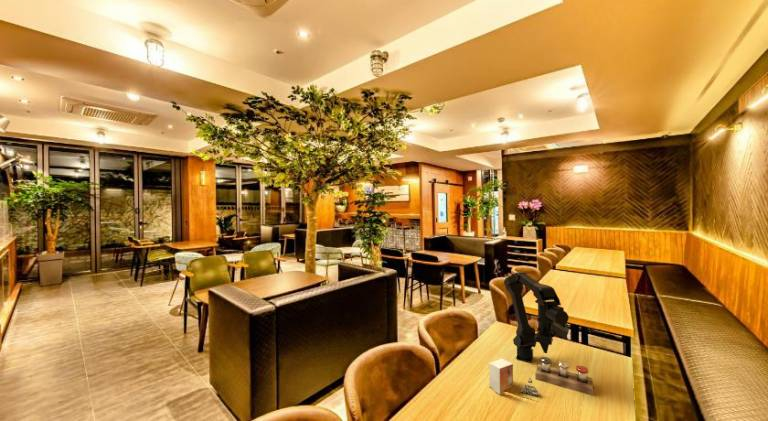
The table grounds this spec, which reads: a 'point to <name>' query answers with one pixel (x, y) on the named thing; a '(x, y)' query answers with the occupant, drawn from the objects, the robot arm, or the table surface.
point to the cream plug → (563, 369)
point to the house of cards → (529, 389)
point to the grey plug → (545, 364)
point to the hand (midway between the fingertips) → (545, 352)
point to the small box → (500, 375)
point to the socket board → (564, 380)
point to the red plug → (582, 373)
